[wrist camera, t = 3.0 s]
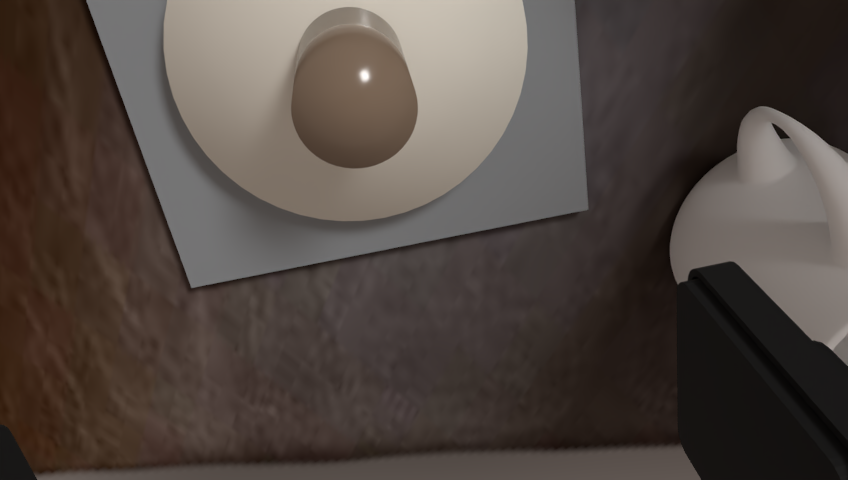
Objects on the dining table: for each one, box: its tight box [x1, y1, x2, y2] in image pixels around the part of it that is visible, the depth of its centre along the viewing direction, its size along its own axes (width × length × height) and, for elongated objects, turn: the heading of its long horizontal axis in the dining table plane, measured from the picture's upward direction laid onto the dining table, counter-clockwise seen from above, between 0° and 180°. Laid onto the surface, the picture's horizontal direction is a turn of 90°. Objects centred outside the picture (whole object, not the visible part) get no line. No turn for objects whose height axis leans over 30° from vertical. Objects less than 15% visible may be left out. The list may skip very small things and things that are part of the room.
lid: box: [163, 0, 528, 221], centre depth 24 cm, size 12×12×6 cm
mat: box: [86, 0, 588, 288], centre depth 27 cm, size 16×16×1 cm
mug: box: [670, 106, 848, 366], centre depth 28 cm, size 9×12×11 cm
